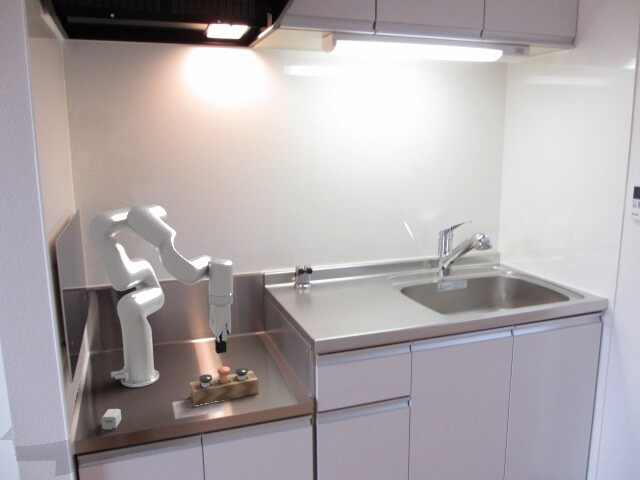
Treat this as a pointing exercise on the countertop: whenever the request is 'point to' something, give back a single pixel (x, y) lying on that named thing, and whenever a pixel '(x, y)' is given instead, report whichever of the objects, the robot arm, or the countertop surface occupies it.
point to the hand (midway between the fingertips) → (220, 351)
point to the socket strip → (224, 389)
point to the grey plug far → (241, 373)
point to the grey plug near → (205, 380)
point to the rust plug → (224, 374)
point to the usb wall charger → (111, 418)
